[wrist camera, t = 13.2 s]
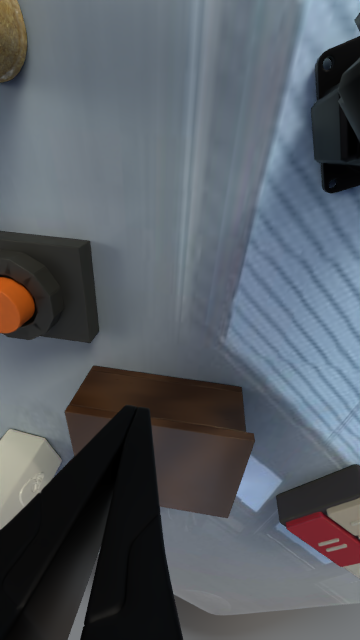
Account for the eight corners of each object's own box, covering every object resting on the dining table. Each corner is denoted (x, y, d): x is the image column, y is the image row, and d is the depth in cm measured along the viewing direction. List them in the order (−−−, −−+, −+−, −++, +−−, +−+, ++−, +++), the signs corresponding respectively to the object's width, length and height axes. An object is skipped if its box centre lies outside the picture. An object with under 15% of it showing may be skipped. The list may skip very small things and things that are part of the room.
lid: (254, 433, 21) (255, 441, 20) (227, 510, 27) (228, 518, 27) (68, 404, 22) (64, 411, 21) (85, 485, 28) (82, 492, 28)
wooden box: (242, 386, 25) (246, 431, 21) (221, 463, 32) (222, 509, 27) (92, 365, 26) (68, 404, 22) (102, 443, 33) (85, 485, 28)
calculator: (373, 499, 25) (460, 570, 28) (355, 457, 29) (433, 523, 32) (278, 529, 30) (361, 587, 33) (273, 490, 34) (348, 545, 37)
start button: (29, 279, 18) (12, 290, 17) (39, 324, 20) (25, 337, 19) (-20, 273, 19) (-41, 283, 17) (-5, 318, 21) (-23, 330, 19)
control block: (90, 240, 20) (67, 254, 17) (99, 331, 24) (82, 355, 21) (-37, 226, 20) (-80, 237, 17) (-7, 316, 25) (-38, 338, 22)
